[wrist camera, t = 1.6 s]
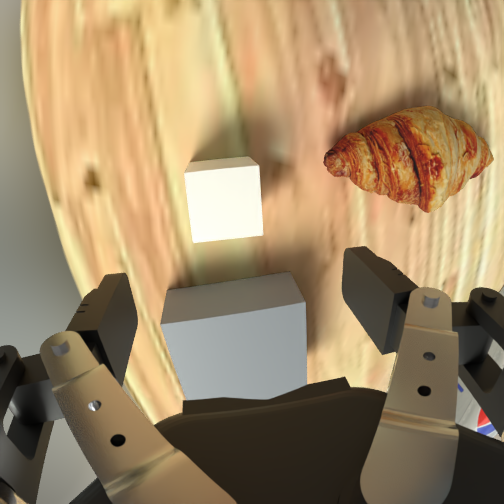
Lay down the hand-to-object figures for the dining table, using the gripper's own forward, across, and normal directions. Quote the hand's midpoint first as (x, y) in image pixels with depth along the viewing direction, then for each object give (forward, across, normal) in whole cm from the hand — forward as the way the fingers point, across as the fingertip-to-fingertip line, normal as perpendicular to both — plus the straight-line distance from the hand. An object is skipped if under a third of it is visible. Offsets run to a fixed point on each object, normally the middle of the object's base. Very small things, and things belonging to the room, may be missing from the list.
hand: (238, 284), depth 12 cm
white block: (+17, 0, 0) cm, 17 cm away
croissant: (+18, -19, -2) cm, 26 cm away
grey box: (+18, 0, +15) cm, 23 cm away
